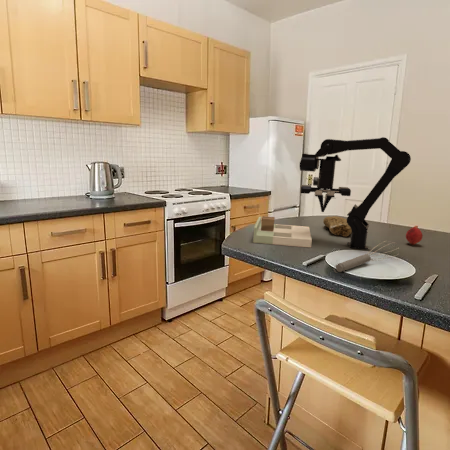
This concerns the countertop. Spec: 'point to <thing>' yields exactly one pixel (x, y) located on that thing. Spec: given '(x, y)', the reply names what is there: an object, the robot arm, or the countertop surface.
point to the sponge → (337, 225)
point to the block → (267, 223)
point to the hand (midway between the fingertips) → (322, 211)
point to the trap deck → (283, 235)
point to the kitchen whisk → (359, 260)
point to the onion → (414, 235)
